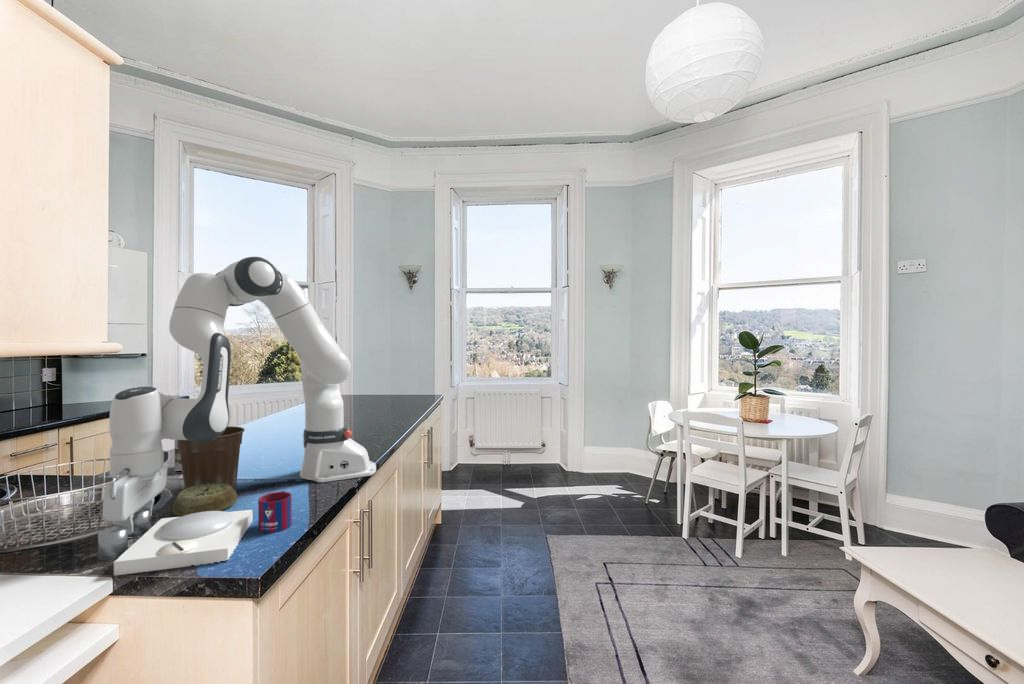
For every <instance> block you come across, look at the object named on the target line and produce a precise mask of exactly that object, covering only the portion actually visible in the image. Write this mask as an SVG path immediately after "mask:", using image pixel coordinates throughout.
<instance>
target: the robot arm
mask: <svg viewBox="0 0 1024 684" xmlns="http://www.w3.org/2000/svg"><path fill="white" fill-rule="evenodd" d="M255 301H259V302H261V303H262V304H263V305H265V306H266V308H267V309H268V310H269V313H270V315H271V316H272V318H273V320H274V322H275V323H276V325H277V326H278V329H279V330H280V331H281V333H282V335H283V336H284V338H285V340H286V341H287V343H288V344H289V345H290V346H291V348H292V349H293V350H294V352H295V353H296V354H297V355H298V357H299V358H300V363H299V367H300V373H301V382H302V390H303V397H304V408H305V409H304V412H305V413H304V415H305V417H304V418H305V419H304V421H305V422H304V425H305V426H304V427H305V428H304V430H303V432H302V433H303V435H302V436H303V441H302V442H303V448H304V451H303V460H302V464H301V469H300V472H299V477H300V478H301V479H303V480H309V481H315V482H316V483H327V482H335V481H342V480H348V479H349V480H350V479H354V478H355V479H356V478H363V477H369V476H372V475H374V474H375V473H376V472H377V464H376V463H375V462H374V461H371V460H370V457H369V453H368V451H367V449H366V448H365V447H364V446H363V445H362V444H360V443H358V442H356V441H355V440H354V439H352V438H351V436H352V431H351V429H350V427H346V426H345V425H344V424H345V423H344V422H345V421H344V420H345V419H344V418H345V417H344V409H345V408H344V407H345V406H344V405H345V404H344V400H343V397H342V393H341V387H340V384H341V383H343V382H345V381H346V380H347V379H348V377H349V376H350V374H351V370H352V364H351V361H350V360H349V358H348V357H347V355H345V353H344V352H343V350H342V349H341V347H340V346H339V344H338V343H337V342H336V340H335V339H334V338H333V335H331V334H330V332H329V331H328V330H327V329H326V327H325V325H324V324H323V322H322V320H321V318H320V317H319V315H318V313H317V312H316V310H315V308H314V307H313V305H312V303H311V302H310V300H309V298H308V296H307V295H306V293H305V291H304V290H303V289H302V288H301V286H300V284H298V283H297V281H296V280H295V279H294V277H292V276H291V275H289V274H286V273H281V271H280V270H278V269H277V268H276V266H275V265H274V264H273V263H271V261H269V260H267V258H263V257H261V256H248V257H245V258H242V259H240V260H237V261H235V262H233V263H231V264H229V265H228V266H227V267H225V268H224V269H223V270H220V271H219V272H217V273H216V274H212V273H207V272H199V273H196V272H195V273H194V274H191V275H189V276H188V277H187V278H186V280H185V281H184V283H183V285H182V287H181V289H180V290H179V293H178V295H177V297H176V300H175V302H174V306H173V310H172V312H171V316H170V319H169V329H168V330H169V333H170V335H171V337H172V338H173V339H174V341H175V342H176V343H177V344H179V345H180V346H181V347H183V348H185V349H187V350H189V351H191V352H193V353H196V354H197V355H198V356H199V357H200V358H201V360H202V373H201V375H202V376H201V384H200V394H199V395H198V397H196V398H183V397H174V396H170V395H167V394H164V393H162V392H161V391H159V390H158V388H157V387H154V386H140V387H139V386H138V387H132V388H127V389H124V390H121V391H119V392H118V393H116V394H115V395H114V396H113V398H112V401H111V404H110V409H109V423H108V424H109V425H108V427H109V430H108V432H109V435H110V437H111V445H110V449H109V476H111V477H112V480H111V482H109V483H108V484H107V485H106V486H105V489H104V492H103V500H102V520H103V522H105V523H106V524H107V523H117V522H118V524H119V526H127V527H128V535H130V534H132V533H133V532H134V531H135V523H134V524H133V520H132V518H133V514H134V513H135V512H136V511H137V510H139V509H140V508H144V507H147V508H150V516H151V517H152V513H153V512H152V511H153V507H154V503H155V497H157V496H158V495H159V494H160V493H162V492H163V491H164V490H165V489H166V486H167V482H168V481H167V478H168V461H169V460H170V456H171V455H170V451H168V450H164V449H163V442H162V441H163V440H171V441H172V440H173V441H175V440H189V441H195V442H201V443H208V442H211V441H213V440H215V439H216V438H218V437H219V436H220V435H221V434H222V433H223V432H224V431H225V430H226V428H227V426H229V423H230V408H229V407H230V406H229V389H230V375H231V373H230V372H231V361H232V359H231V358H232V357H231V356H232V349H231V348H232V347H231V346H232V345H231V343H230V340H229V338H228V337H227V336H225V332H224V331H225V330H224V329H225V327H224V324H225V321H226V316H227V311H228V310H229V307H241V306H243V305H246V304H249V303H253V302H255Z"/></svg>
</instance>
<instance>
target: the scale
mask: <svg viewBox="0 0 1024 684" xmlns="http://www.w3.org/2000/svg"><path fill="white" fill-rule="evenodd" d="M253 511H254V510H253V509H246V510H245V509H244V510H235V511H225V510H220V511H206V512H198V513H193V514H189V515H185V516H182V517H180V516H174V517H163V518H160V519H159V520H158V521H157V522H156V523H155V524H154V525H153V526H151V529H149V530H148V531H147V532H146V533H145V534H144V535H143V536H142V537H139V539H137V540H136V541H134V543H133V544H131V546H130V547H128V550H126V551H125V552H124V553H123V554H122V555H121V556H120V557H119V558H118V559H115V560H113V576H121V575H123V576H124V575H129V574H138V573H144V572H145V573H146V572H152V571H153V572H154V571H162V570H163V571H164V570H168V569H176V568H185V567H192V566H191V565H194V566H200V565H201V564H202V565H208V564H209V563H210V564H215V563H214V562H218V563H221V562H220V561H225V560H228V559H229V560H230V558H231V557H232V555H233V553H234V552H233V551H235V550H236V548H237V547H238V545H239V544H238V543H240V542H241V541H242V539H241V538H243V537H244V535H245V534H246V532H247V530H248V529H249V527H250V525H251V524H252V522H253V520H254V518H253V515H254V514H253ZM239 541H240V542H239ZM236 546H237V547H236ZM234 549H235V550H234ZM231 554H232V555H231ZM230 556H231V557H230ZM229 557H230V558H229ZM229 560H228V561H229Z"/></svg>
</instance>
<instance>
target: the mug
mask: <svg viewBox="0 0 1024 684" xmlns="http://www.w3.org/2000/svg"><path fill="white" fill-rule="evenodd" d="M292 495H293V494H292V493H291V492H287V491H285V490H281V491H276V492H269V493H266V494H263V495H261V496H260V497H258V501H257V503H258V507H257V508H258V512H257V513H258V516H257V517H258V531H259V532H261V533H265V534H267V533H269V534H271V533H278V532H281V530H282V531H284V530H286V529H289V528H290V527H291V526H292V523H293V518H292V517H293V514H292V513H293V512H292V507H293V506H292V505H293V501H292V500H293V499H292Z"/></svg>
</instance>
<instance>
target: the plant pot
mask: <svg viewBox="0 0 1024 684" xmlns="http://www.w3.org/2000/svg"><path fill="white" fill-rule="evenodd" d="M244 432H245V428H244V427H241V426H229V425H228V426H227V428H226V430H225V431H224V432H223V433H222V434H221V435H220V436H219V437H218V438H216V439H215V440H213V441H211V442H208V443H201V442H195V441H189V440H177V442H178V450H179V451H180V454H181V462H182V471H183V472H182V477H183V478H182V480H183V490H185V489H187V488H189V487H192V486H196V485H201V484H208V483H224V484H228V485H230V486H231V487H233V489H234V488H235V487H237V482H238V474H239V473H238V471H239V462H240V452H241V451H240V450H241V444H242V443H243V434H244Z"/></svg>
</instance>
